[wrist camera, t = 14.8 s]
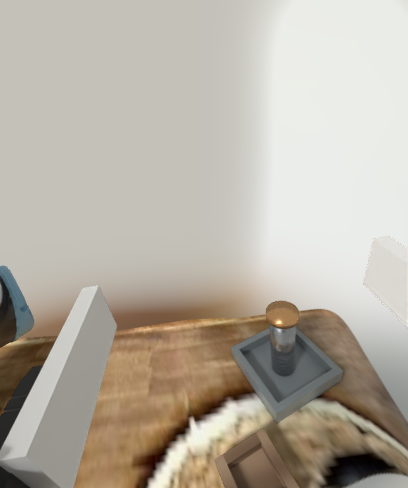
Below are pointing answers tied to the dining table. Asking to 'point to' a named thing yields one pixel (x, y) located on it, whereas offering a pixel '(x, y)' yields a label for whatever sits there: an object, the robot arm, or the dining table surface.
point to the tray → (290, 387)
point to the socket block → (254, 465)
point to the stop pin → (282, 336)
